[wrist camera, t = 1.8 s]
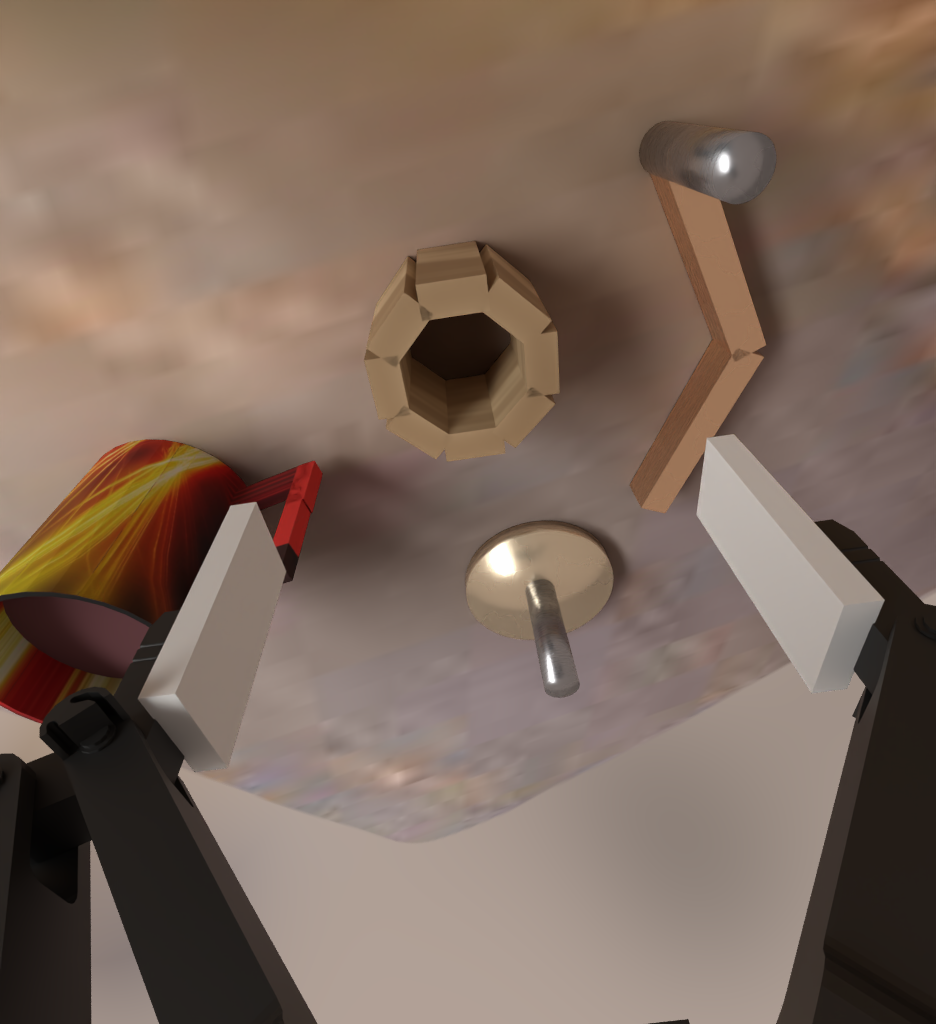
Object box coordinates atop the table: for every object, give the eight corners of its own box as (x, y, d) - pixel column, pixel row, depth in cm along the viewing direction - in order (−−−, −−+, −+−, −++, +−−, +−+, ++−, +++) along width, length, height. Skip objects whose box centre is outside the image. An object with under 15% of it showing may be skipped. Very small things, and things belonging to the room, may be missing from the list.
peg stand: (455, 532, 37) (463, 640, 30) (610, 510, 37) (656, 614, 29) (474, 635, 43) (484, 746, 36) (607, 617, 42) (645, 725, 35)
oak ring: (361, 258, 27) (347, 295, 22) (531, 232, 27) (554, 263, 22) (396, 411, 32) (391, 469, 27) (540, 390, 31) (561, 445, 26)
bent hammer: (640, 125, 24) (717, 137, 18) (780, 102, 24) (909, 107, 18) (624, 494, 36) (668, 582, 29) (719, 481, 36) (784, 566, 29)
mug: (330, 457, 33) (291, 608, 23) (210, 590, 39) (138, 756, 29) (170, 349, 29) (42, 479, 19) (61, 516, 34) (-81, 682, 25)
